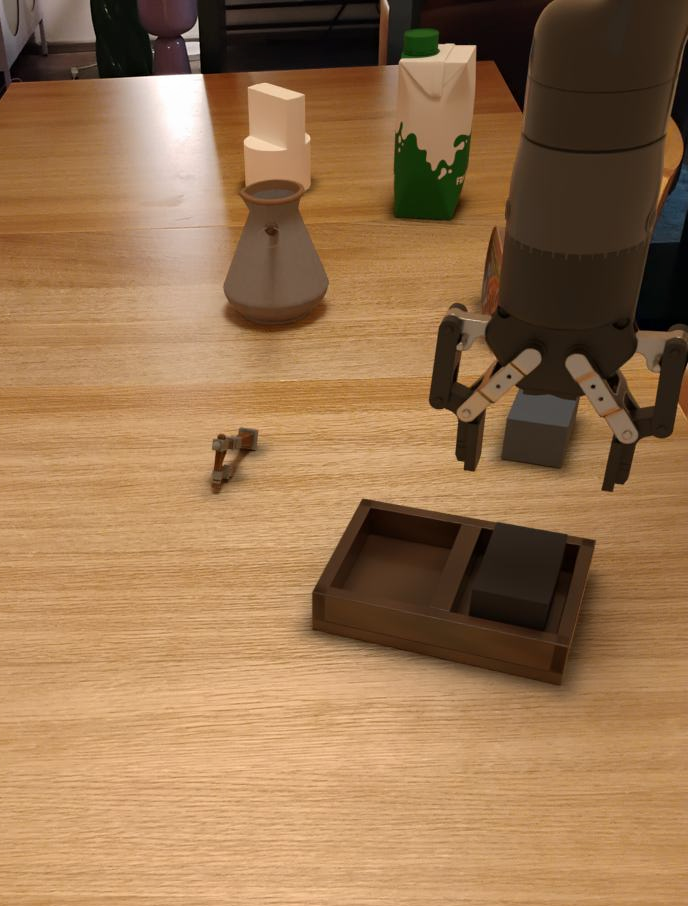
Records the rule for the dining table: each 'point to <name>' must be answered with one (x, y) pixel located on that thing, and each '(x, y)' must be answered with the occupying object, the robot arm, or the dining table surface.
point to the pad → (539, 429)
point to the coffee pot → (275, 257)
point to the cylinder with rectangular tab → (276, 136)
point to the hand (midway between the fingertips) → (538, 474)
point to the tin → (492, 271)
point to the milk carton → (432, 125)
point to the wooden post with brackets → (223, 443)
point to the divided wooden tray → (439, 592)
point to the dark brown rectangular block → (518, 576)
